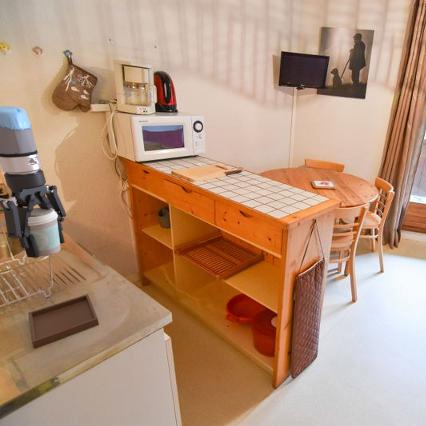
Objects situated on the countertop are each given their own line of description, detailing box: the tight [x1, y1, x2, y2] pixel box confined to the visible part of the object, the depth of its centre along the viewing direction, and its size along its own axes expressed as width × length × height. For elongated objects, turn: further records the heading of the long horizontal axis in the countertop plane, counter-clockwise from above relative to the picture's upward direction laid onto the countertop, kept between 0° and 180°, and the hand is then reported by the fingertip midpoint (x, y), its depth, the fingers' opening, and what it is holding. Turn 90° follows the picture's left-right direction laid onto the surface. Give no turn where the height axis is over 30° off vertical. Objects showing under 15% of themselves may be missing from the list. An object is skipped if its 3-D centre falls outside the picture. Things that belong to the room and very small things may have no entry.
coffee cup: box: [28, 207, 62, 257], centre depth 87 cm, size 8×9×12 cm
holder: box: [27, 293, 100, 349], centre depth 85 cm, size 13×13×2 cm
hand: (46, 249), depth 89 cm, fingers closed on coffee cup, 8 cm apart
